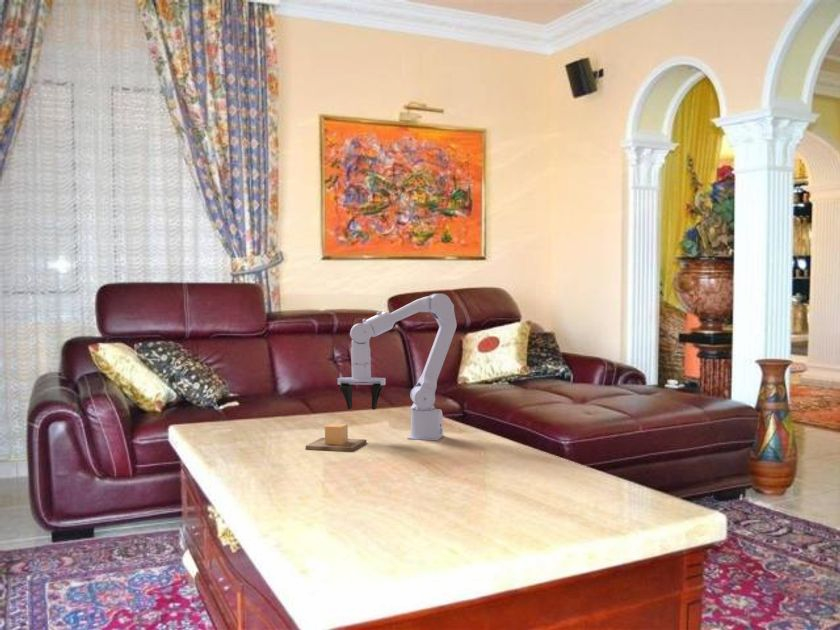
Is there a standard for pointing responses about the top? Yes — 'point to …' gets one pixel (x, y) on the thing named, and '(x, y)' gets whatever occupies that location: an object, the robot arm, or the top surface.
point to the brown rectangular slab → (348, 446)
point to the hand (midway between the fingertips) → (362, 408)
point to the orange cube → (336, 434)
